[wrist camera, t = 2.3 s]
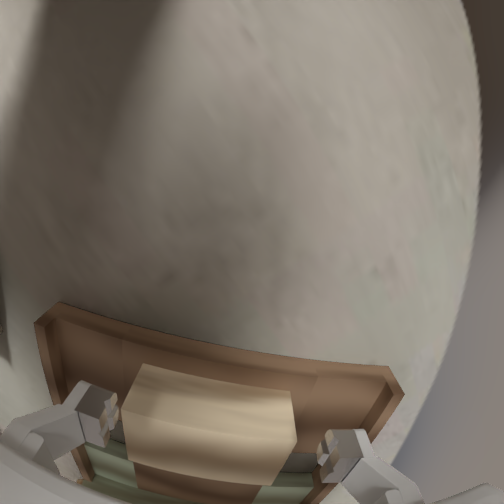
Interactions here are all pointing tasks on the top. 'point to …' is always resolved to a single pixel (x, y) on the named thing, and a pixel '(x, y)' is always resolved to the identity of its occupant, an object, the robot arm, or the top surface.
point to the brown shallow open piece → (212, 367)
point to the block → (207, 427)
